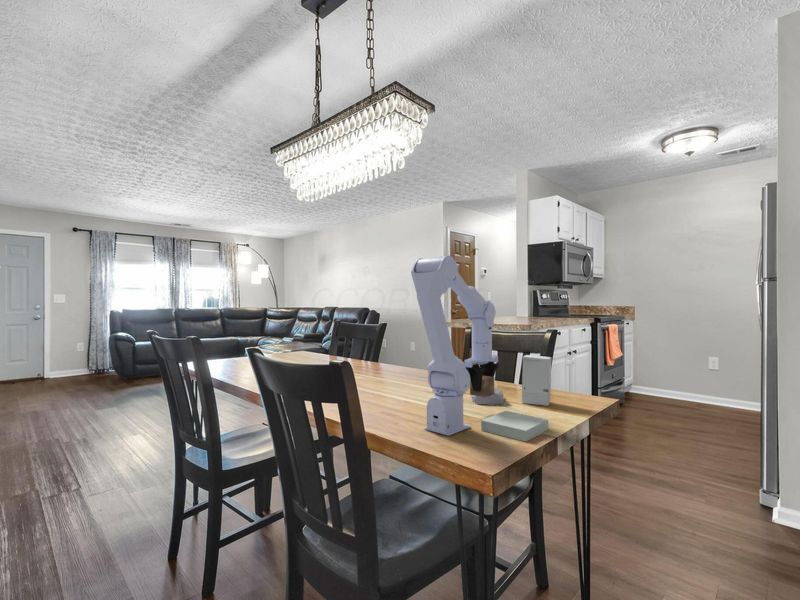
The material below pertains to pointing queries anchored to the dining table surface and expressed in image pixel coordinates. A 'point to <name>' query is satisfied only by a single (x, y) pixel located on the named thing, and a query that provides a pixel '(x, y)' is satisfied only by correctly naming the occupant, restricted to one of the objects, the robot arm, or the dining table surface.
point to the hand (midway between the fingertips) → (482, 389)
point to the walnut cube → (484, 387)
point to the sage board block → (514, 425)
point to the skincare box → (536, 380)
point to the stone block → (489, 398)
